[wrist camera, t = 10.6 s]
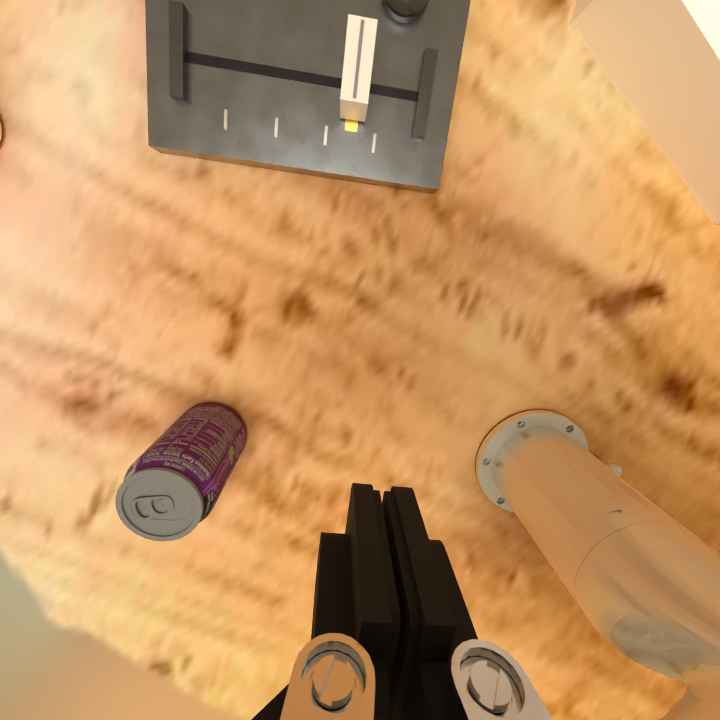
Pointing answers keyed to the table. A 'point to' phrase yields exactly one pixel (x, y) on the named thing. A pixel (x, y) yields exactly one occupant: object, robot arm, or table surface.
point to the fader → (357, 67)
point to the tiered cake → (665, 78)
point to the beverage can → (181, 474)
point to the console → (304, 86)
